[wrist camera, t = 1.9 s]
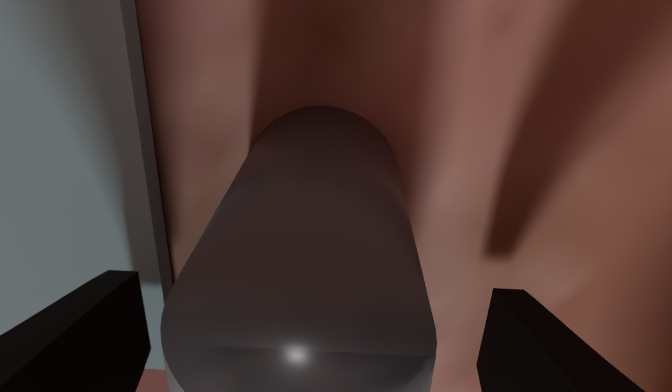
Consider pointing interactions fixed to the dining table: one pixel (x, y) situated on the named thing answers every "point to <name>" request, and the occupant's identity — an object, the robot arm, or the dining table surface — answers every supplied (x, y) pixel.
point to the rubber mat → (76, 158)
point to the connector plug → (305, 272)
